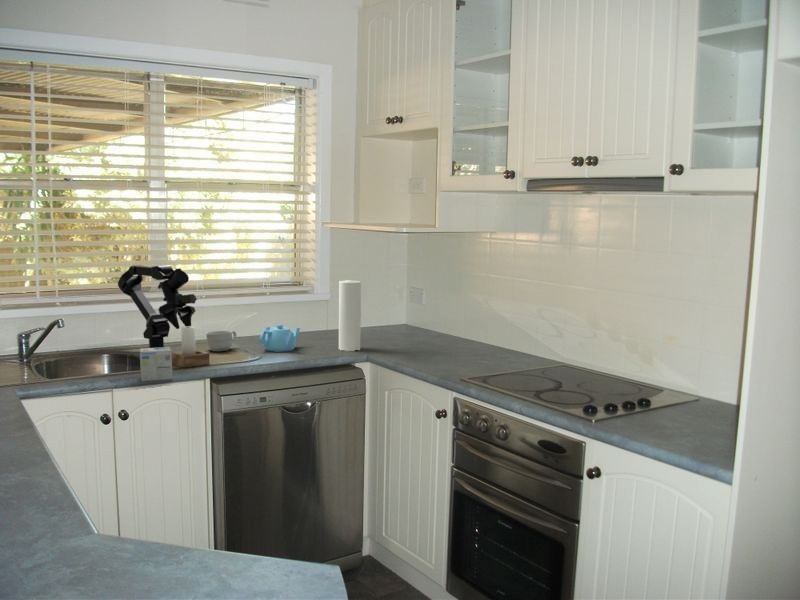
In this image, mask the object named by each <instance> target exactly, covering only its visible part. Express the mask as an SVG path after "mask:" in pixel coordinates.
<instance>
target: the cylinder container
mask: <svg viewBox="0 0 800 600" xmlns="http://www.w3.org/2000/svg"><path fill="white" fill-rule="evenodd" d="M361 307H362V281H360V280H353V279H347V280H346V279H345V280H339V282H338V350H339V349H340V350H339V351H341V350H345V351H344V352H356V351H355V350H358V351H360V350H361V334H362V333H361V332H362V331H361V321H362V320H361V318H362V314H361V313H362V310H361V309H362V308H361Z"/></svg>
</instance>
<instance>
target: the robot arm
mask: <svg viewBox="0 0 800 600" xmlns="http://www.w3.org/2000/svg"><path fill="white" fill-rule="evenodd" d="M137 275H138V276H137ZM143 276H145V277H146V276H147V277H151V278H152V279H153V280H156V281H160V282H159V283H158V286H157V289H158V290H159V289H161V291H162V294H163V296H164V298H162V299H163V302H166V303H165V304H163V305H160V306H159V307H158V313H157V311H156V310H155V309H154V308H153V306H152V305H151V302H150V301H149V300H148V299H147V296H146V295H145V294H144V293H143V291H142V282H143V279H144V278H143ZM189 280H190V279H189V274H188V273H186V272H185V271H184V270H182V268H176V269H174V268H173V267H172V265H170V264H168V265H155V266H151V265H150V266H149V265H148V266H147V265H142V264H136V265H133V264H132V265H131V266H129V268H128V270H127V271H125V272H124V273H123V274H121V276H120V278H119V279H118V281H117V286H118V289H120V291H121V292H122V293H123V294H124V295H126V296H129V297H130V298H131V300H132V301H133V303H134V304H135V306H136V307H137V308H138V310H139V311H140V313H141V314H142V316H143V317H144V319H145V320H146V322H145V329H144V331H143V333H142V334H143V338H144V339H147V340H148V348H162V347H165V345H164V344H165V341H164V338H168V337H169V333H170V329H171V327H170V326H171V325H172V326H173V327H174V328H175V329H177V330H179V329H180V324H179V320H180V321H181V322H182V324H183V325H184V327H185V326H192V317H193V315H194V314H195V313H196V309H195V306H192V305H187V304H196V301H197V300H198V298H197V296H196V295H195V294H194V293H189V294H182V293H179V289H181V288H182V287H183V286H184V285H185V284H187V283H188V282H189ZM177 315H178V316H177ZM178 318H179V320H178ZM170 324H171V325H170Z"/></svg>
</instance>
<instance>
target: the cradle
mask: <svg viewBox="0 0 800 600" xmlns="http://www.w3.org/2000/svg"><path fill="white" fill-rule="evenodd" d="M171 354H172V365H175V366H179V367H181V368H185V367H188V368H193V367H192V366H194V367H198V366H204V365H205V364H206V365H210V352H206V351H201V350H198V349H196V355H190V356H185V355H182V353H181V354H180V353H176V352H174V351H173V352H172V351H171ZM206 365H205V366H206Z"/></svg>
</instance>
